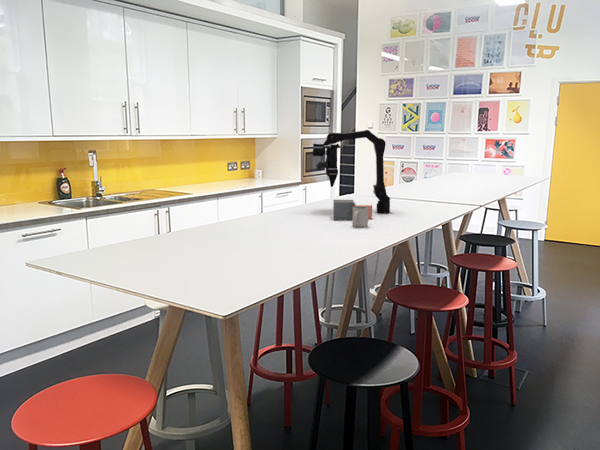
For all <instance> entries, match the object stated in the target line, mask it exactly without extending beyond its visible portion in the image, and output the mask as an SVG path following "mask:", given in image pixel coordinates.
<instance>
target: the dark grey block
mask: <svg viewBox="0 0 600 450" xmlns="http://www.w3.org/2000/svg"><path fill="white" fill-rule="evenodd" d="M332 202H333V207H332V208H333V211H332V213H333V214H332V219H333V221H353V207H354V205H357V204H356V202H354V199H333V201H332Z"/></svg>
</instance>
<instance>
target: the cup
mask: <svg viewBox="0 0 600 450" xmlns="http://www.w3.org/2000/svg"><path fill="white" fill-rule="evenodd" d="M368 220H369V219H368V207H364V206H356V207H353V220H351V221H352V224H351V225H352V227H353V226H354V228H359V227H361V228H362V227H363V228H367V227H368V223H369V221H368ZM363 228H362V229H363Z"/></svg>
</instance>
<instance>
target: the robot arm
mask: <svg viewBox="0 0 600 450" xmlns="http://www.w3.org/2000/svg"><path fill="white" fill-rule="evenodd" d="M362 138H363V139H365V138H366V139H367V140H369V142H371V143H372V144H373V150H374V154H375V167H376V168H375V173H376V179H375V180H376V181H375V184H373V185H372V187H373V194H374V196H375V197H376V199H378V200H377V203H376V209H375V210H376V212H377V214H390V213H391V208H390V207H391V198H390V197H389V196H388V195H387V191H386V190H387V188H386V186H385V180H384V178H385V174H384V169H385V168H384V154H385V150H386V141H385V140H384V138H381V137H378V136H376V135H375V134H374V133H373V132H371V131H370V130H369V129H365V130H357V131H350V132H329V133H328V134H327V135H326V139H325V141H324V142H323V143H313V144H312V145H313V146H312V157H324V155H325V156H326V158H325V161H323V162H321V161H319V162H318V163H317V164H315V167H316V170H317V171H321V170H323V169H325V174H326V176H328V178H329V185H330V187H332V188H333V187H334V185H335V182H336V180H337V178H338V175H339V169H338V149H341V148H342V147H341V145H340V144H339V143H340V142H343V141H348V140H356V139H362Z"/></svg>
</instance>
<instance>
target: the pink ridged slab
mask: <svg viewBox="0 0 600 450" xmlns="http://www.w3.org/2000/svg"><path fill="white" fill-rule="evenodd" d="M356 206H364V207H368V220H369V219H373V205H372V204H356V205H354V207H356Z"/></svg>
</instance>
